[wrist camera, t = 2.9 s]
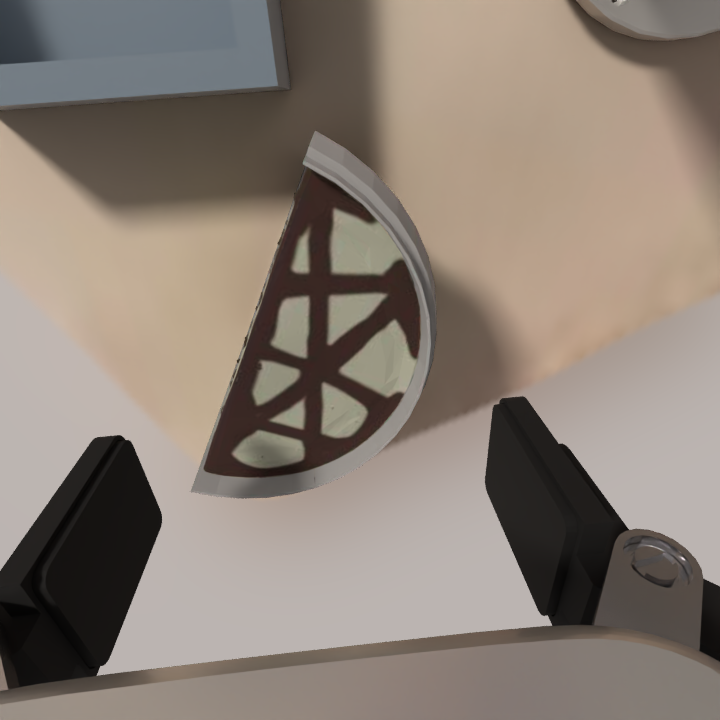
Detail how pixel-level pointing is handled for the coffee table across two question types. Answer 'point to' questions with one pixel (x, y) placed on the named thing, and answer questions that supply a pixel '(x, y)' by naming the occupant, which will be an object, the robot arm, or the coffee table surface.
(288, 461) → the latticed semicircular wedge
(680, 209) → the coffee table surface
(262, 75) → the bin
